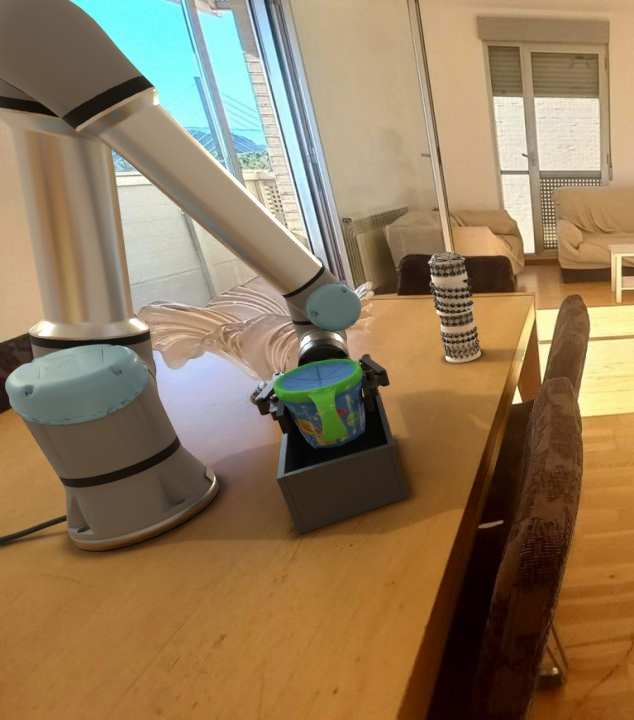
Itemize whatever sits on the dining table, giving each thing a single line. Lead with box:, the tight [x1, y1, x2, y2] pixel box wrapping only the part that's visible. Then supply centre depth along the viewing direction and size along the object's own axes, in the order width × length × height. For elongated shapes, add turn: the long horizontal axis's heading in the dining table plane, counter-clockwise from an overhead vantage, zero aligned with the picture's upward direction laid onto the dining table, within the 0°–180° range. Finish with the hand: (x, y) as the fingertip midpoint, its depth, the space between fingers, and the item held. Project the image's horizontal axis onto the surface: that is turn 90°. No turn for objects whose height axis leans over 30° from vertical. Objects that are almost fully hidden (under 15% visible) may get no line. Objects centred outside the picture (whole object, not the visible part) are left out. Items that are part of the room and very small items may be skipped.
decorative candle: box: [427, 251, 482, 364], centre depth 111 cm, size 9×9×25 cm
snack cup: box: [273, 359, 365, 449], centre depth 67 cm, size 16×10×10 cm
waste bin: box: [276, 392, 409, 535], centre depth 71 cm, size 14×19×9 cm
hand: (327, 413), depth 63 cm, fingers closed on snack cup, 9 cm apart
